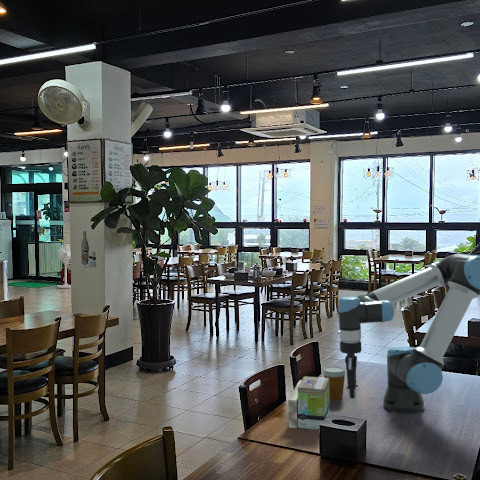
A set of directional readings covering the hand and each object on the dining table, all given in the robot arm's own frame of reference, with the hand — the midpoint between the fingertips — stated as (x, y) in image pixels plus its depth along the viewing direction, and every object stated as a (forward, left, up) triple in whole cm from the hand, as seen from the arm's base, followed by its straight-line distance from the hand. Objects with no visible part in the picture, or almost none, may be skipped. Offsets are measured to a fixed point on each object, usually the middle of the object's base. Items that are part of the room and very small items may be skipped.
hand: (352, 406), depth 197 cm
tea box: (+14, 0, -7) cm, 16 cm away
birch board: (+20, -4, -7) cm, 22 cm away
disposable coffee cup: (+9, -27, -7) cm, 30 cm away
